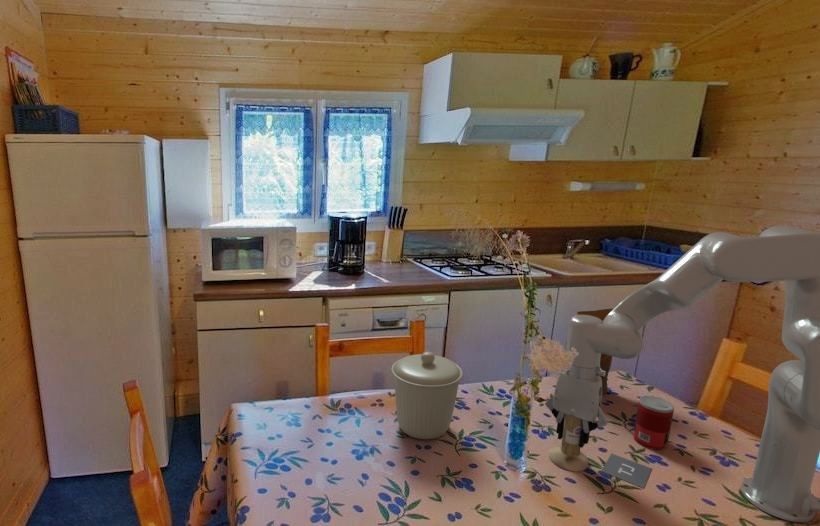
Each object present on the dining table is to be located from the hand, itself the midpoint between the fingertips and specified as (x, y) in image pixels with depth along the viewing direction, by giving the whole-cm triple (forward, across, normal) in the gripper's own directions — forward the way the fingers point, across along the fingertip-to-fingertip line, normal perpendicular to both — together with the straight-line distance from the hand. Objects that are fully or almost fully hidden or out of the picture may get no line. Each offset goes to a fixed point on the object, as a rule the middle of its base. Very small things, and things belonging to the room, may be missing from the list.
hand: (571, 440), depth 111 cm
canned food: (+6, -14, -22) cm, 26 cm away
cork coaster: (+5, 0, 0) cm, 5 cm away
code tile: (+5, -12, -5) cm, 14 cm away
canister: (+5, +34, +12) cm, 37 cm away
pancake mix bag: (+5, +7, -38) cm, 39 cm away
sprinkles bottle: (+3, 0, 0) cm, 3 cm away
